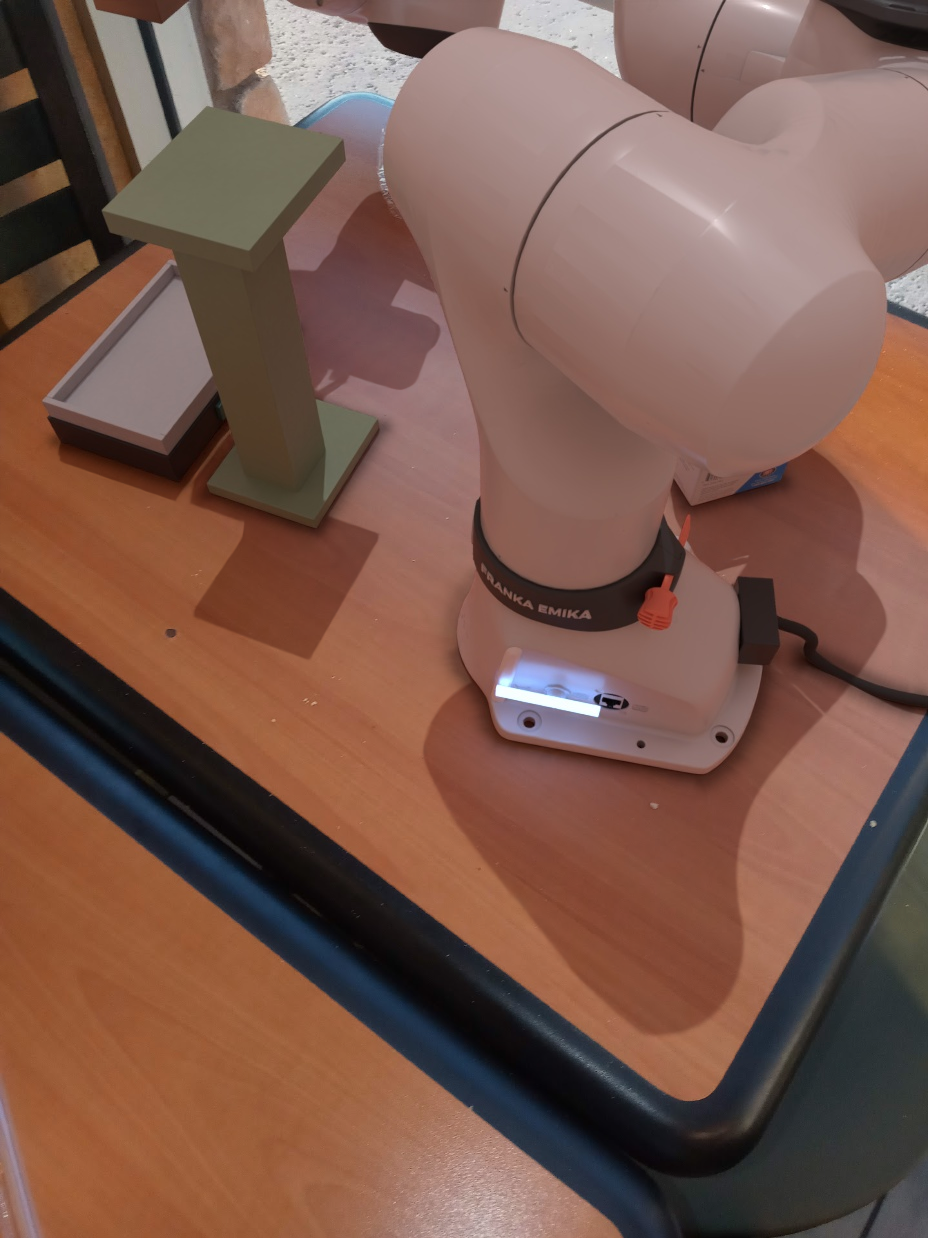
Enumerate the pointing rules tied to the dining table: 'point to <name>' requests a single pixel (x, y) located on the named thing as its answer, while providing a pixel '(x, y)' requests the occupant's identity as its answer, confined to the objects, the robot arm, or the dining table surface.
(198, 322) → the stand
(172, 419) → the scale
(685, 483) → the ink box
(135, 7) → the mallet
